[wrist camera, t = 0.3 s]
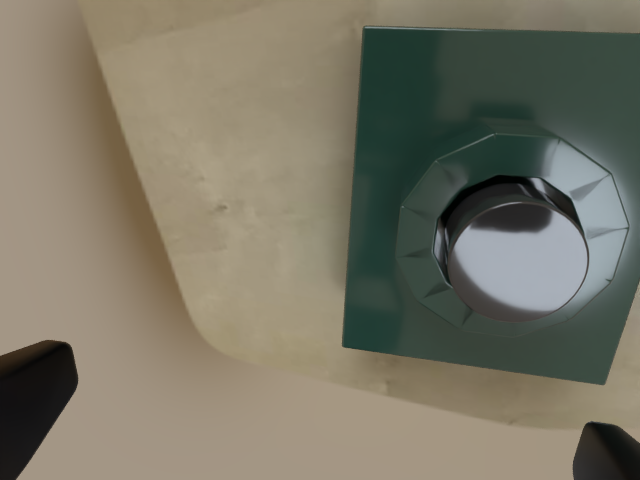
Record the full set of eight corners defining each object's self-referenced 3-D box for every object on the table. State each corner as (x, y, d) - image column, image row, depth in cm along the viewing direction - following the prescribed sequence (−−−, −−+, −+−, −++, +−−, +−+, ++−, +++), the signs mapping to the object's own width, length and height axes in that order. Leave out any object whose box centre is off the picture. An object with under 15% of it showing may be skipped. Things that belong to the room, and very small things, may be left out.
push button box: (572, 329, 21) (628, 425, 15) (353, 301, 22) (333, 379, 17) (653, 41, 16) (775, 31, 11) (373, 32, 18) (354, 19, 12)
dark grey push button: (551, 297, 15) (571, 331, 13) (436, 283, 15) (439, 314, 13) (579, 187, 13) (607, 208, 11) (452, 177, 14) (458, 195, 12)
